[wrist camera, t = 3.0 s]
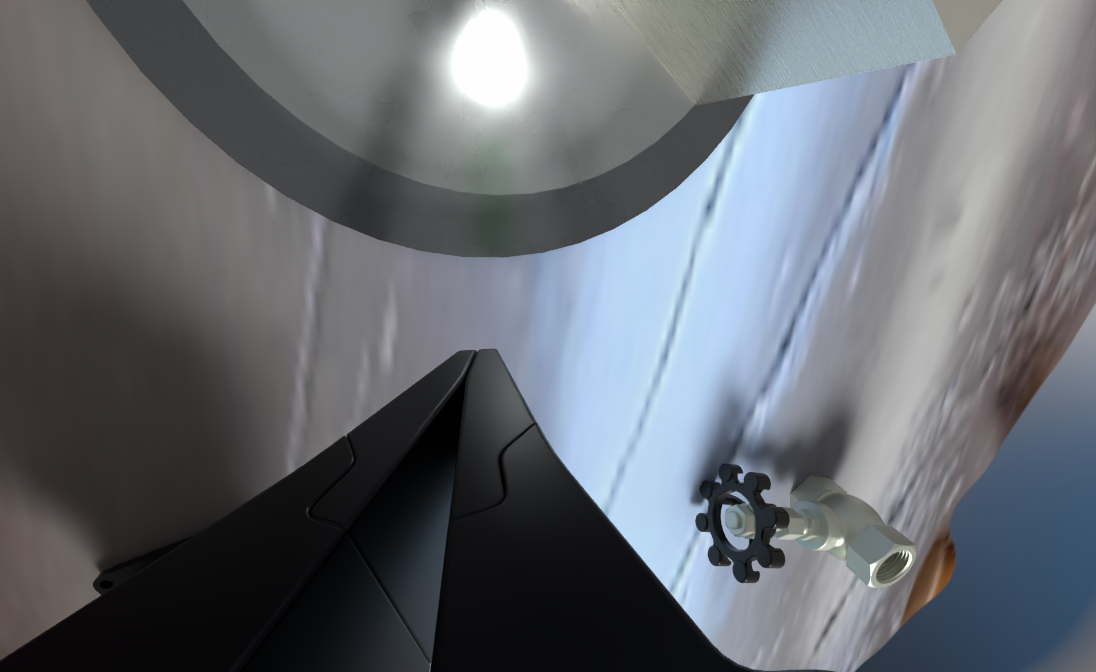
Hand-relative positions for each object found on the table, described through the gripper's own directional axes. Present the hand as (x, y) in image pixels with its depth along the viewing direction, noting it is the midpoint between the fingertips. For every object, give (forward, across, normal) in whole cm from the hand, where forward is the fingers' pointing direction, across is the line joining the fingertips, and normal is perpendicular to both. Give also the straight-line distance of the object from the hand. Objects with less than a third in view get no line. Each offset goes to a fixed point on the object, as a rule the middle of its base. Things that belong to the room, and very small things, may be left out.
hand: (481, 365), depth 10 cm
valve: (+11, +16, -22) cm, 30 cm away
